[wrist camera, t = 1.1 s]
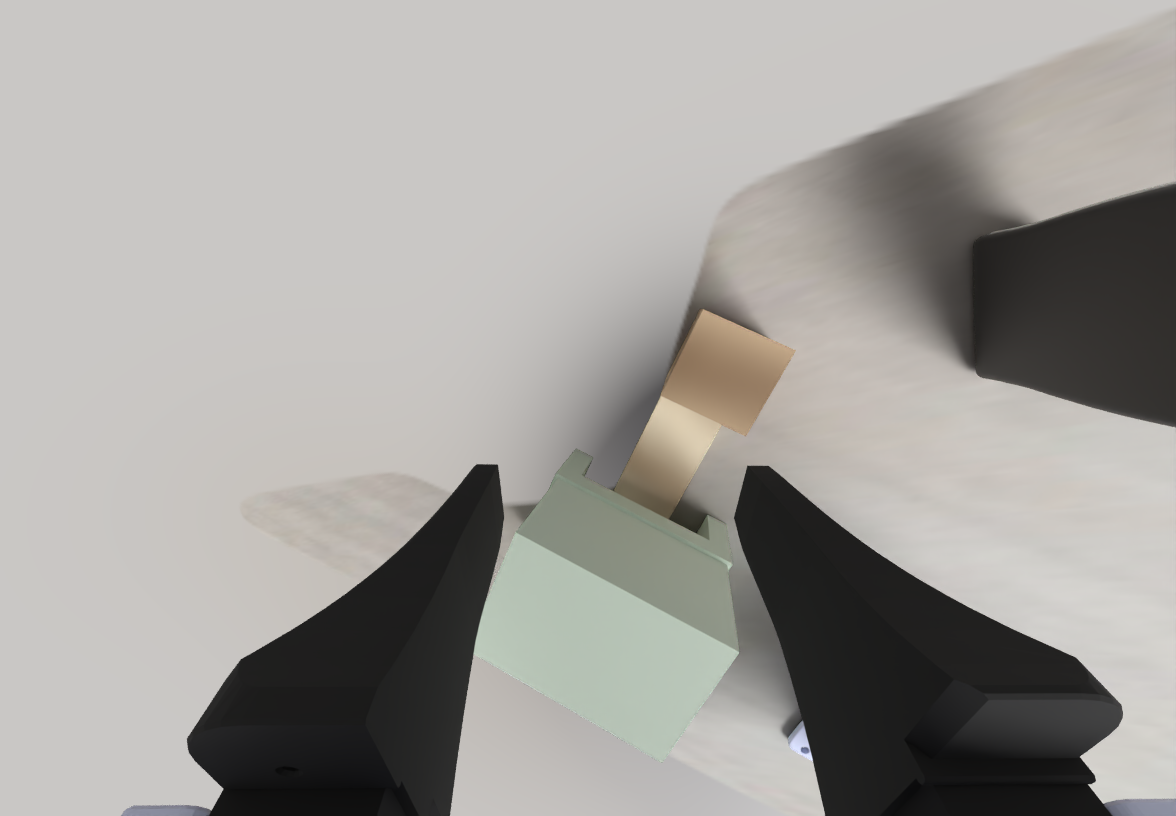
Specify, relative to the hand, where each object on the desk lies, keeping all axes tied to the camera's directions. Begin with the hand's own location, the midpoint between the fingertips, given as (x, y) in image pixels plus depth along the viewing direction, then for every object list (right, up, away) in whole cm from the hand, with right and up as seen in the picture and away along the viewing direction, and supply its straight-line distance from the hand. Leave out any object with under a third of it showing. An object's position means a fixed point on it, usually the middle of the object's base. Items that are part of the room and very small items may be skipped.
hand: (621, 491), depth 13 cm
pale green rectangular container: (+1, -5, +15) cm, 16 cm away
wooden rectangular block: (+4, +1, +13) cm, 13 cm away
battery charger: (+19, +7, +8) cm, 22 cm away
